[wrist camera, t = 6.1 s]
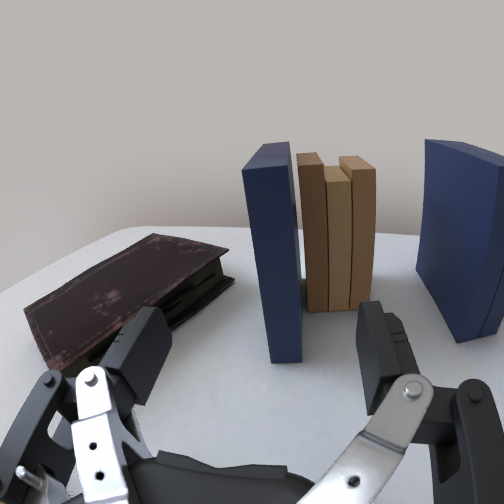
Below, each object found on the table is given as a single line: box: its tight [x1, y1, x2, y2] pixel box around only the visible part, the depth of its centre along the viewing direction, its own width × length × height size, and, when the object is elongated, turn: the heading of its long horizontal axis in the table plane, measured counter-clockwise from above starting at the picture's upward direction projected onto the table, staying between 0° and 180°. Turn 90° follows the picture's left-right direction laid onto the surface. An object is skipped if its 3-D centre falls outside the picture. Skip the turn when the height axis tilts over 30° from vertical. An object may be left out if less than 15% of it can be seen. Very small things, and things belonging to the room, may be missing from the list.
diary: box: [24, 233, 235, 378], centre depth 33 cm, size 19×25×5 cm
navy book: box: [242, 142, 302, 363], centre depth 26 cm, size 3×14×17 cm, turn 172°
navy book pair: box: [416, 139, 504, 343], centre depth 23 cm, size 6×14×17 cm, turn 172°
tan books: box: [296, 152, 376, 313], centre depth 29 cm, size 7×7×16 cm
